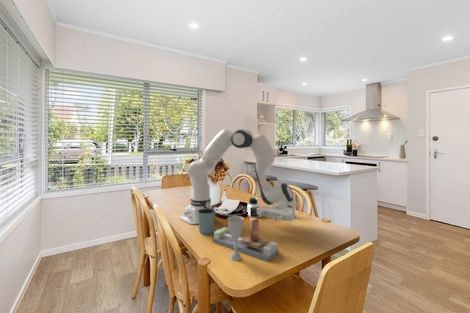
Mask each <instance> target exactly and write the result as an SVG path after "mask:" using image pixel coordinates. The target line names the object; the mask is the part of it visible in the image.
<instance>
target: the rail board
mask: <svg viewBox="0 0 470 313" xmlns="http://www.w3.org/2000/svg"><path fill="white" fill-rule="evenodd" d="M243 238H244V237H242V236H240V237H239V239H237V247H238V248H237V252H239V253H243V254H245V255H248V256H251V257H254V258H256V259H259V260H261V261H264V262H267V263H268V262H270V261H271V260H272V259H273V258H274V257H276V255H278V254H279V248H278V242H275V241H270V242H268V243H267V244H266V245H264V246H263V247H261V248H260V249H257V248H254V247H251V246H248V245H245V244H242V243H241V240H242V239H243ZM212 243H214V244H218V245H220V246H223V247H225V248H228V249H231V250H234V239H233V238H232V237H231V235H230V232H229V229H228V227H225V226H223V227H222V228H219V229H217V230H214V232H213V237H212Z"/></svg>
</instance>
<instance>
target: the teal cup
mask: <svg viewBox="0 0 470 313" xmlns="http://www.w3.org/2000/svg"><path fill="white" fill-rule="evenodd" d="M197 213H198V221H199V224H198V232H199V233H200V234H202V235H211V234H214V232H215V231H216V230H215V228H216V225H215V223H216V220H215V219H216V209H214V208H204V209H200V210H198V211H197Z"/></svg>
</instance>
